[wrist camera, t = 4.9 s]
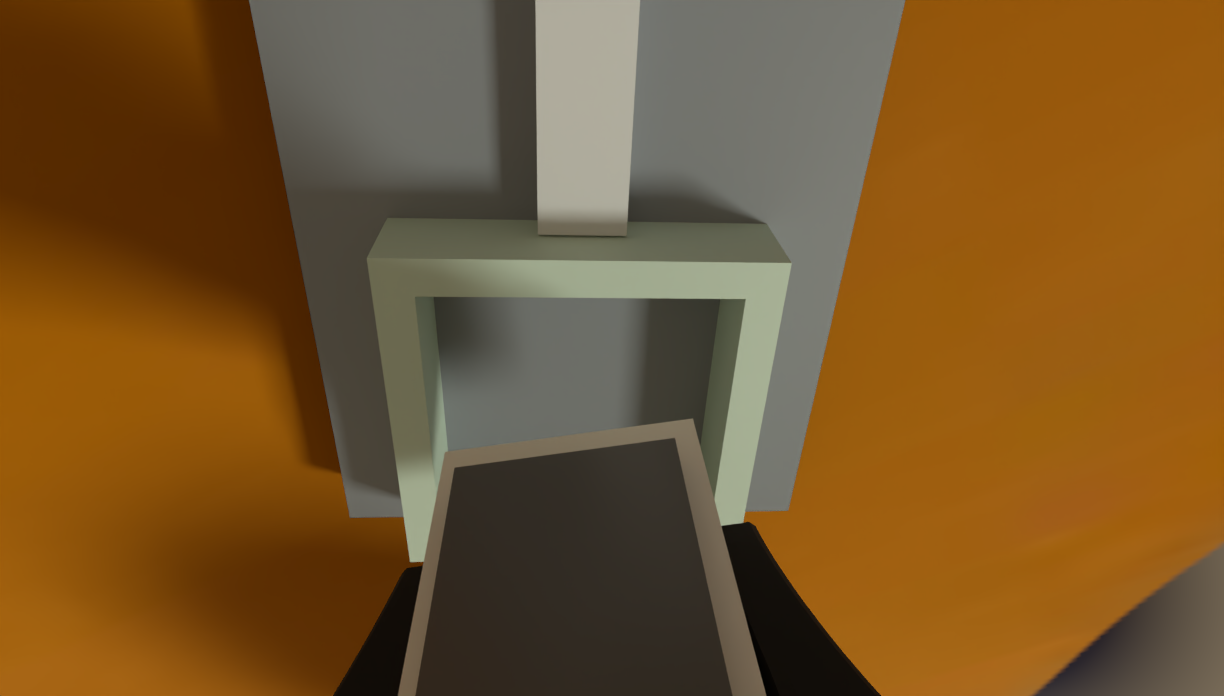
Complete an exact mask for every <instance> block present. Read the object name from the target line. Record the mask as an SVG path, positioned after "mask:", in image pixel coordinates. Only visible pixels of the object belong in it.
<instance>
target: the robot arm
mask: <svg viewBox="0 0 1224 696" xmlns="http://www.w3.org/2000/svg"><path fill="white" fill-rule="evenodd" d="M721 527H722V531H723V534H724V538H725V542H726V546H727V549H728V553H729V557H730V561H731V564H732V568H733V572H734V576H735V580H736V583H737V587H738V591H739V595H740V598H741V602H742V606H743V610H744V613H745V617H746V621H747V625H748V629H749V632H750V636H751V640H752V644H753V647H754V651H755V655H756V659H757V662H758V666H759V670H760V674H761V678H762V681H763V685H764V689H765V693H766V696H881V695H880V694H879V693H878V692H877V691H876V690H875V689H874V687H873V686H872V685H871V684H870V683H869V682H868V681H867V680H866V678H865V677H864V676H863V675H862V674H861V673H860V672H859V670H858V669H857V668H856V667H855V666H854V665H853V663H852V662H851V661H850V660H849V659H848V657H847V656H846V655H845V654H844V653H843V652H842V650H841V649H840V648H839V647H838V645H837V644H836V643H835V642H834V641H833V639H832V638H831V637H830V636H829V634H828V633H827V632H826V630H825V629H824V628H823V627H822V625H821V624H820V623H819V621H818V620H817V619H816V617H815V616H814V615H813V613H812V612H811V611H810V609H809V608H808V607H807V606H806V604H805V603H804V602H803V600H802V599H801V597H800V596H799V595H798V593H797V592H796V590H795V589H794V588H793V586H792V585H791V583H790V582H789V580H788V579H787V577H786V576H785V574H784V573H783V571H782V570H781V569H780V567H779V565H778V564H777V562H776V561H775V559H774V558H773V556H772V554H771V553H770V551H769V550H768V548H767V546H766V544H765V543H764V541H763V539H762V538H761V536H760V534H759V532H758V530H757V528H756V526H754V525H753V524H751V523H750V522H746V523H738V524H731V525H723V526H721ZM422 568H423V566H419V567H412V568H407V569H406V570H405V571H404V572H403V573H402V575H401V577H400V579H399V581H398V582H397V584H396V586H395V588H394V590H393V592H392V594H391V596H390V598H389V599H388V601H387V603H386V605H385V607H384V609H383V611H382V612H381V614H380V616H379V618H378V620H377V622H376V623H375V625H374V627H373V629H372V631H371V632H370V634H369V636H368V638H367V639H366V641H365V643H364V645H363V646H362V648H361V650H360V652H359V653H358V655H357V657H356V658H355V660H354V662H353V663H352V665H351V667H350V668H349V670H348V672H347V673H346V675H345V677H344V678H343V680H342V682H341V683H340V685H339V687H338V688H337V690H336V692H335V693H334V695H333V696H398V692H399V687H400V682H401V677H402V671H403V666H404V661H405V656H406V651H407V646H408V640H409V635H410V630H411V625H412V620H413V615H414V609H415V604H416V599H417V594H418V589H419V584H420V578H421V573H422Z"/></svg>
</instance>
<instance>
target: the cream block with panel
mask: <svg viewBox="0 0 1224 696" xmlns="http://www.w3.org/2000/svg"><path fill="white" fill-rule="evenodd" d="M398 696H766V693H765V689H764V685H763V681H762V678H761V674H760V670H759V666H758V662H757V659H756V655H755V651H754V647H753V644H752V640H751V636H750V632H749V629H748V625H747V621H746V617H745V613H744V610H743V606H742V602H741V598H740V595H739V591H738V587H737V583H736V580H735V576H734V572H733V568H732V564H731V561H730V557H729V553H728V549H727V546H726V542H725V538H724V534H723V531H722V527H721V523H720V519H719V515H718V512H717V508H716V504H715V500H714V497H713V493H712V489H711V485H710V482H709V478H708V474H707V470H706V466H705V463H704V459H703V455H702V451H701V448H700V444H699V440H698V436H697V433H696V429H695V425H694V421H693V418H692V419H685V420H678V421H670V422H663V423H655V424H648V425H641V426H633V427H626V428H618V429H611V430H604V431H596V432H589V433H581V434H574V435H567V436H559V437H552V438H545V439H537V440H530V441H522V442H515V443H508V444H500V445H493V446H485V447H478V448H471V449H463V450H456V451H448V452H445V454H444V459H443V465H442V470H441V475H440V480H439V485H438V491H437V496H436V501H435V506H434V511H433V516H432V522H431V527H430V532H429V537H428V542H427V547H426V553H425V558H424V563H423V568H422V573H421V578H420V584H419V589H418V594H417V599H416V604H415V609H414V615H413V620H412V625H411V630H410V635H409V640H408V646H407V651H406V656H405V661H404V666H403V671H402V677H401V682H400V687H399V692H398Z"/></svg>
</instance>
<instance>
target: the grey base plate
mask: <svg viewBox="0 0 1224 696" xmlns="http://www.w3.org/2000/svg"><path fill="white" fill-rule="evenodd" d="M249 3H250V8H251V13H252V18H253V24H254V29H255V34H256V39H257V44H258V49H259V54H260V59H261V65H262V70H263V75H264V80H265V85H266V90H267V95H268V100H269V105H270V111H271V116H272V121H273V126H274V131H275V136H276V141H277V146H278V152H279V157H280V162H281V167H282V172H283V177H284V182H285V187H286V192H287V198H288V203H289V208H290V213H291V218H292V223H293V228H294V233H295V239H296V244H297V249H298V254H299V259H300V264H301V269H302V274H303V280H304V285H305V290H306V295H307V300H308V305H309V310H310V315H311V320H312V326H313V331H314V336H315V341H316V346H317V351H318V356H319V361H320V367H321V372H322V377H323V382H324V387H325V392H326V397H327V402H328V407H329V413H330V418H331V423H332V428H333V433H334V438H335V443H336V448H337V454H338V459H339V464H340V469H341V474H342V479H343V484H344V489H345V494H346V500H347V505H348V510H349V515H350V518H362V517H404V523H405V530H406V537H407V544H408V551H409V558H410V562H424V558H425V553H426V547H427V542H428V537H429V532H430V527H431V522H432V516H433V511H434V506H435V501H436V496H437V491H438V485H439V480H440V475H441V470H442V465H443V459H444V454H445V452H448V451H456V450H463V449H471V448H478V447H485V446H493V445H500V444H508V443H515V442H522V441H530V440H537V439H545V438H552V437H559V436H567V435H574V434H581V433H589V432H596V431H604V430H611V429H618V428H626V427H633V426H641V425H648V424H655V423H663V422H670V421H678V420H685V419H692V418H693V421H694V425H695V429H696V433H697V436H698V440H699V444H700V448H701V451H702V455H703V459H704V463H705V466H706V470H707V474H708V478H709V482H710V485H711V489H712V493H713V497H714V500H715V504H716V508H717V512H718V515H719V519H720V523H721V526H723V525H731V524H738V523H743V520H744V515H745V511H788V509H789V504H790V500H791V496H792V491H793V487H794V482H795V478H796V474H797V469H798V465H799V461H800V456H801V452H802V448H803V443H804V439H805V435H806V430H807V426H808V421H809V417H810V413H811V408H812V404H813V400H814V395H815V391H816V387H817V382H818V378H819V374H820V369H821V365H822V360H823V356H824V352H825V347H826V343H827V339H828V334H829V330H830V326H831V321H832V317H833V313H834V308H835V304H836V299H837V295H838V291H839V286H840V282H841V278H842V273H843V269H844V265H845V260H846V256H847V252H848V247H849V243H850V238H851V234H852V230H853V225H854V221H855V217H856V212H857V208H858V204H859V199H860V195H861V191H862V186H863V182H864V177H865V173H866V169H867V164H868V160H869V156H870V151H871V147H872V143H873V138H874V134H875V130H876V125H877V121H878V116H879V112H880V108H881V103H882V99H883V95H884V90H885V86H886V82H887V77H888V73H889V69H890V64H891V60H892V55H893V51H894V47H895V42H896V38H897V34H898V29H899V25H900V21H901V16H902V12H903V8H904V3H905V0H249Z"/></svg>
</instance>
